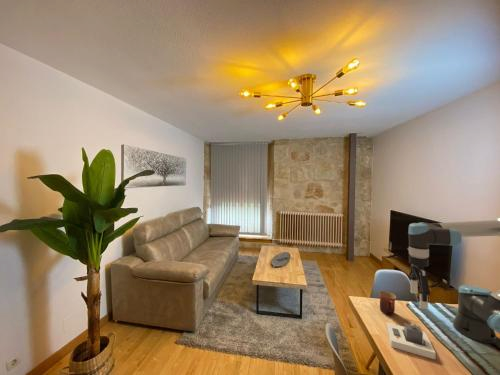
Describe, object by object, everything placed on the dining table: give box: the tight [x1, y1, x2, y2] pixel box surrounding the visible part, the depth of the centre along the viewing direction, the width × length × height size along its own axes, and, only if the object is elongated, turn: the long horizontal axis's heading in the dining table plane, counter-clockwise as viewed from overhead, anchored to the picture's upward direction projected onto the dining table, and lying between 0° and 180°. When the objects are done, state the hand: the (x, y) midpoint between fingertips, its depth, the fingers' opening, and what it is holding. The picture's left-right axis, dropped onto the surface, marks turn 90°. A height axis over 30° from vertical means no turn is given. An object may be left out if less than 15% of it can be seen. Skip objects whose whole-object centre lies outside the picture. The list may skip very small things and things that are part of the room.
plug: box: [403, 322, 424, 345], centre depth 99 cm, size 6×4×8 cm
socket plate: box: [385, 321, 437, 360], centre depth 100 cm, size 16×14×4 cm
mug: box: [378, 290, 397, 316], centre depth 122 cm, size 12×9×10 cm
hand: (418, 299), depth 101 cm, fingers open, 13 cm apart
